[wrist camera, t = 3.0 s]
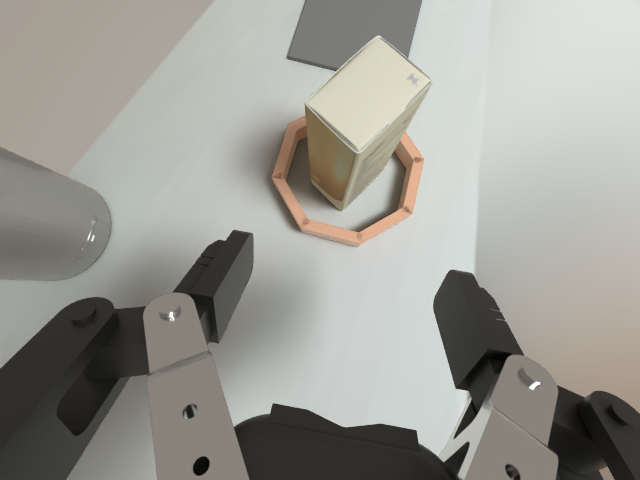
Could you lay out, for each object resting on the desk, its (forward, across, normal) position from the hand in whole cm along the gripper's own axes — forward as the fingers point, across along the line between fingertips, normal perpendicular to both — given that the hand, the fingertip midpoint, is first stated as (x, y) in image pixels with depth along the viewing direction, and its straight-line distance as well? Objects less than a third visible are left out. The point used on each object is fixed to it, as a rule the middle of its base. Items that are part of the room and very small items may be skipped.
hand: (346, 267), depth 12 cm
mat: (+30, +2, -10) cm, 31 cm away
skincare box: (+17, 0, +3) cm, 17 cm away
